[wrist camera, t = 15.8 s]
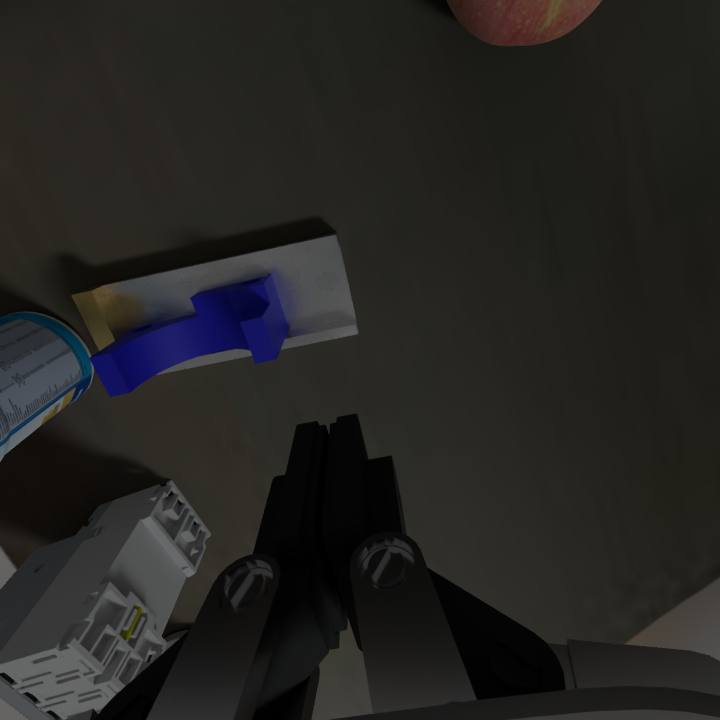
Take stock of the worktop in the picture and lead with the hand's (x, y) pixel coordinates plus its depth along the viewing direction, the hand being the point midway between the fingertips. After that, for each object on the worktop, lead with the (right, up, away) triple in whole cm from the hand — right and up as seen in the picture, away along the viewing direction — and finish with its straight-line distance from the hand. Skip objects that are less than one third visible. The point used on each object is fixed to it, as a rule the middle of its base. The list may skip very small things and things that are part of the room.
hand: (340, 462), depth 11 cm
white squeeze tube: (-10, +7, +21) cm, 24 cm away
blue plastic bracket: (-11, +6, +21) cm, 25 cm away
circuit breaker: (-23, -14, +30) cm, 40 cm away
